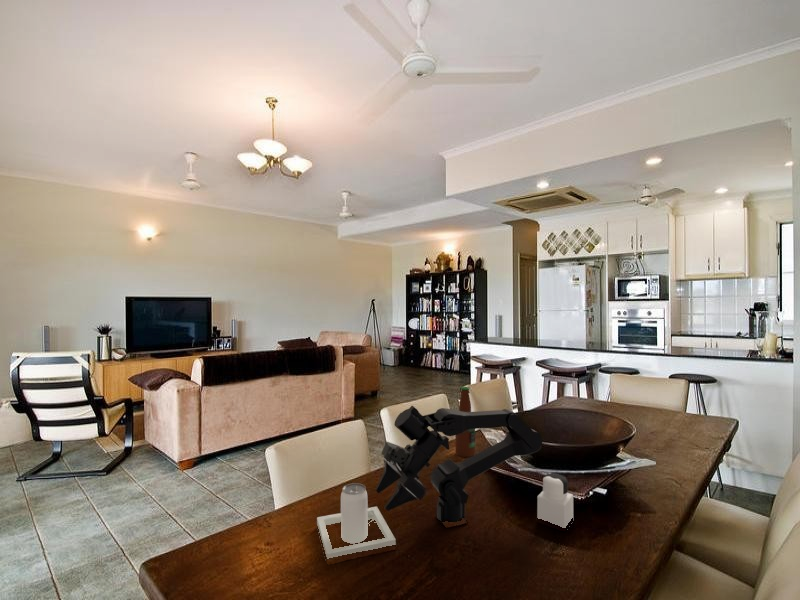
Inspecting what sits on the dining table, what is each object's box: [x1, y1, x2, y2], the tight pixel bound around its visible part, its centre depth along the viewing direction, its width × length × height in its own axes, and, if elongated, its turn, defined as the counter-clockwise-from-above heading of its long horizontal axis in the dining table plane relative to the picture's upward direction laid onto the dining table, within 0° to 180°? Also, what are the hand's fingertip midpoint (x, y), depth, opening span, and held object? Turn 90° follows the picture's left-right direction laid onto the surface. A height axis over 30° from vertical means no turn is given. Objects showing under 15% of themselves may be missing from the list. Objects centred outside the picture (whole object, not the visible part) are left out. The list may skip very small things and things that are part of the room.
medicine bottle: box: [536, 473, 574, 528], centre depth 107 cm, size 7×7×12 cm
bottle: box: [455, 386, 476, 458], centre depth 153 cm, size 7×7×25 cm
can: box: [340, 482, 369, 544], centre depth 100 cm, size 6×6×12 cm
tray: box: [316, 506, 397, 559], centre depth 101 cm, size 16×16×2 cm
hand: (381, 500), depth 103 cm, fingers open, 9 cm apart
